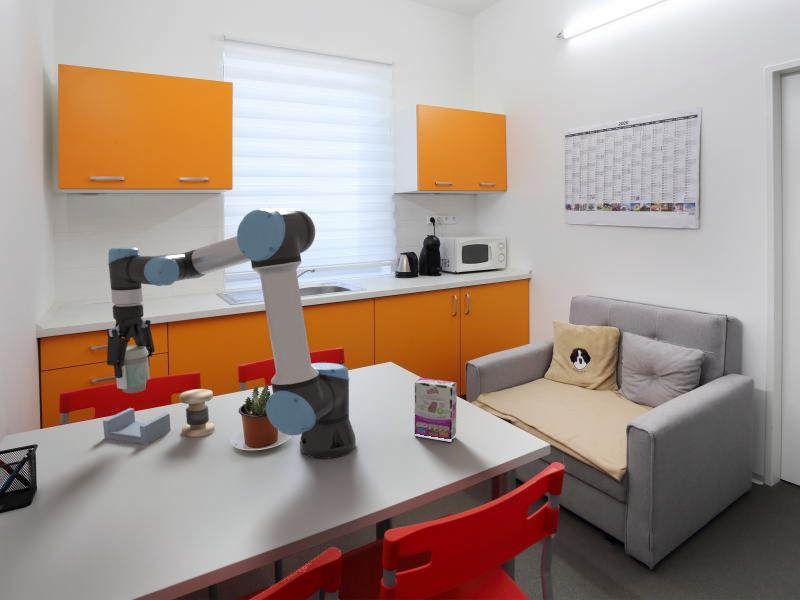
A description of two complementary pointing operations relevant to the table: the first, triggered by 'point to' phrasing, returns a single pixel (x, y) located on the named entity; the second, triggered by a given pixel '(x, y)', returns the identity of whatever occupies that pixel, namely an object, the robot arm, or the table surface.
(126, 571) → the table surface
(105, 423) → the u-shaped channel bracket
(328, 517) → the table surface
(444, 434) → the candy bar box
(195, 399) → the bobbin
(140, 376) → the coffee cup
